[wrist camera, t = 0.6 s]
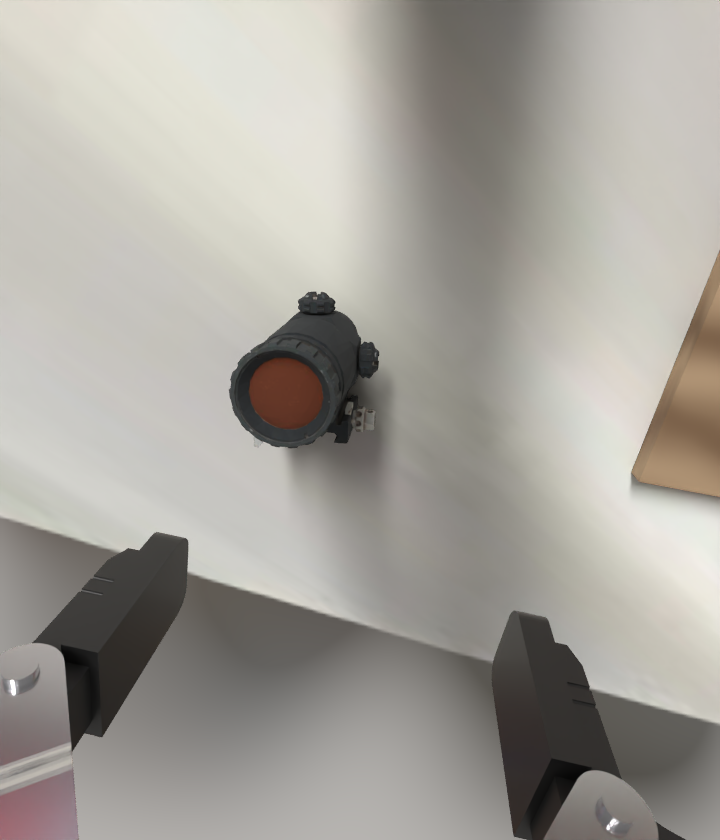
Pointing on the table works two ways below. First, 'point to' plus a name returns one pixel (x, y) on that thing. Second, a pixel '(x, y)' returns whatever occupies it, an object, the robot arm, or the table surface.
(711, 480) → the walnut board
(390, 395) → the table surface
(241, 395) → the scope
